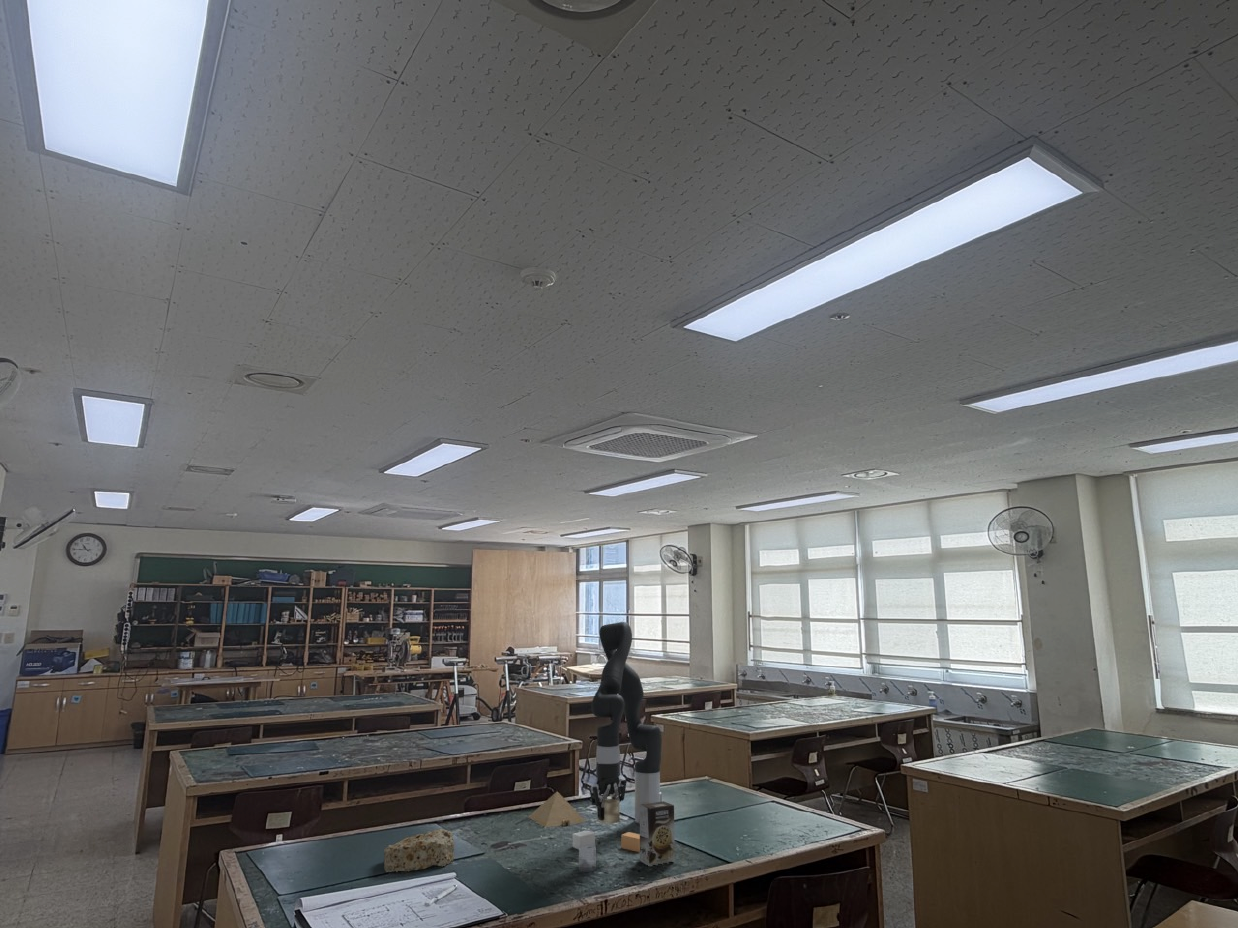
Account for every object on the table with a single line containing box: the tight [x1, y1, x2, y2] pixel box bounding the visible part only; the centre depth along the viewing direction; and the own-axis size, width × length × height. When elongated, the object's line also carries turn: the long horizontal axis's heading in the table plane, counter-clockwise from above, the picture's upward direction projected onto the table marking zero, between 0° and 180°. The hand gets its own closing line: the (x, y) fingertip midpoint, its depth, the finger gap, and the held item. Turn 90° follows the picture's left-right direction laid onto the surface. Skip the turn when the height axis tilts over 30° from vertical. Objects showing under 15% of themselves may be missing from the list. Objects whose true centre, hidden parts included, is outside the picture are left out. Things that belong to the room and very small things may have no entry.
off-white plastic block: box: [572, 830, 596, 850], centre depth 227 cm, size 6×4×4 cm, turn 129°
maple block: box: [596, 797, 621, 825], centre depth 219 cm, size 5×5×6 cm
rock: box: [383, 828, 455, 873], centre depth 210 cm, size 21×14×10 cm
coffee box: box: [639, 800, 675, 867], centre depth 214 cm, size 9×6×16 cm
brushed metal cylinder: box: [578, 844, 597, 873], centre depth 207 cm, size 5×5×6 cm
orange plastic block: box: [620, 831, 640, 853], centre depth 225 cm, size 4×7×4 cm, turn 53°
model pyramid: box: [528, 791, 587, 828], centre depth 258 cm, size 17×17×10 cm
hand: (608, 817), depth 219 cm, fingers closed on maple block, 5 cm apart
